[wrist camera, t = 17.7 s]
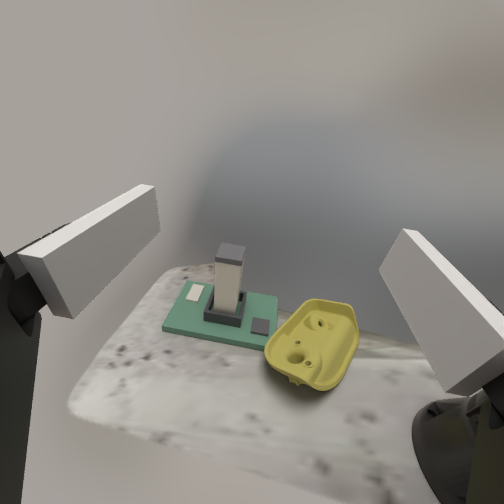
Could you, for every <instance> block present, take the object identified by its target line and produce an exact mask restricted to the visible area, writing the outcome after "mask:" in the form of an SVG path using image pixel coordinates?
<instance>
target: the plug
mask: <svg viewBox="0 0 504 504" xmlns="http://www.w3.org/2000/svg"><path fill="white" fill-rule="evenodd" d="M245 249H246V247H245V246H239V245H233V244H228V243H221V246H220V247H219V250H218V252H217V254H216V256H215V262H216V264H215V290H214V311H217V312H222V313H227V314H232V315H236V311H237V307H238V301H239V293H240V285H241V278H242V270H243V262H244V255H245Z"/></svg>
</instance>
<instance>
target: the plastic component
mask: <svg viewBox="0 0 504 504" xmlns="http://www.w3.org/2000/svg"><path fill="white" fill-rule="evenodd" d="M318 322H319V323H320V324H321V326H319V324H318ZM358 343H359V330H358V325H357V321H356V317H355V313H354V309H353V308H352V306H350V305H349V304H344V303H339V302H334V301H328V300H323V299H310V300H307V301H305V302H304V303H303V304H302V305H301V306H300V307H299V308H298V309H297V310H296V311H295V312H294V313H293V314H292V315H291V316H290V317H289V319H288V320H287V321H286V322H285V323H284V324H283V325H282V326H281V327H280V328H279V329H278V330H277V331H276V332H275V333H274V334H273V335H272V336H271V338H270V339H269V340H268V342H267V343H266V345H265V349H264V354H265V357H266V360H267V361H268V363H269V364H270V366H271V367H272V368H274V369H275V370H277V371H278V372H280V373H282V374H284V375H286V376H288V377H289V382H293V383H295V384H296V385H297V386H299V384H307V385H308V386H310V387H312V388H314V389H316V390H320V391H326V390H329V389H332V388H333V387H335V386H336V385H337V384H338V383H339V382H340V381H341V379H342V378H343V376H344V375H345V373H346V370H347V368H348V366H349V364H350V362H351V360H352V358H353V355H354V353H355V351H356V349H357V347H358ZM308 365H310V366H308Z"/></svg>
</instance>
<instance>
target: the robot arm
mask: <svg viewBox="0 0 504 504" xmlns="http://www.w3.org/2000/svg"><path fill="white" fill-rule="evenodd" d="M159 232H160V223H159V216H158V208H157V200H156V192H155V187H154V186H149V185H143V184H140V185H138V186H137V187H135V188H133V189H131V190H130V191H128V192H126V193H125V194H122V195H121V196H119V197H117V198H115V199H113V200H112V201H110V202H108V203H106V204H104V205H103V206H101V207H99V208H97V209H96V210H94V211H92V212H90V213H88V214H87V215H85V216H83V217H81V218H79V219H78V220H76V221H74V222H72V223H68V224H65V225H63V226H61V227H59V228H58V229H55V230H54V231H52V233H48V234H46V235H44V236H43V237H42V238H39V239H37V240H35V241H33V242H32V243H30V244H28V245H26V246H24V247H22V248H21V249H19V250H17V251H15V252H13V253H12V254H10V255H8V256H6V257H4V256H3V255H2V253H1V252H0V504H21V498H22V489H23V480H24V471H25V462H26V453H27V444H28V435H29V426H30V417H31V409H32V400H33V391H34V381H35V372H36V364H37V355H38V346H39V338H40V329H41V320H42V318H41V314H40V313H39V310H40V309H41V308H42V307H44V306H45V305H46V304H47V305H48V307H49V309H50V310H51V312H52V313H53V315H55V316H60V317H66V318H70V319H74V318H75V317H76V316H77V315H78V314H79V313H80V312H81V311H82V310H83V309H84V308H85V307H86V306H87V305H88V304H89V303H90V302H91V301H92V300H93V299H94V298H95V297H96V296H97V295H98V294H99V293H100V292H101V291H102V290H103V289H104V288H105V287H106V286H107V285H108V284H109V283H110V282H111V281H112V280H113V279H114V278H115V277H116V276H117V275H118V274H119V273H120V272H121V271H122V269H124V267H126V266H127V265H128V264H129V262H131V261H132V260H133V258H135V257H136V255H137V254H138V253H139V252H140V251H141V250H142V249H143V248H144V247H145V246H146V245H147V244H148V243H149V242H150V241H151V240H152V239H153V238H154V237H155V236H156V235H157V234H158V233H159ZM379 272H380V274H381V275H382V277H383V279H384V281H385V283H386V284H387V286H388V288H389V290H390V292H391V294H392V296H393V297H394V299H395V301H396V303H397V305H398V306H399V309H400V310H401V312H402V314H403V316H404V318H405V319H406V321H407V323H408V325H409V327H410V329H411V330H412V332H413V334H414V336H415V338H416V340H417V342H418V343H419V345H420V347H421V349H422V351H423V353H424V354H425V356H426V358H427V360H428V362H429V364H430V365H431V367H432V369H433V371H434V373H435V375H436V376H437V378H438V380H439V382H440V384H441V386H442V387H443V389H444V391H445V392H446V393H452V394H457V395H462V396H467V397H464V398H454V399H443V400H437V401H434V402H431V403H429V404H428V405H427V406H425V407H424V408H422V409H421V410H420V411H419V412H418V413H417V414H416V416H415V418H414V422H413V427H412V436H413V443H414V448H415V451H416V455H417V458H418V461H419V463H420V466H421V468H422V470H423V472H424V474H425V476H426V478H427V480H428V482H429V484H430V486H431V487H432V489H433V491H434V492H435V494H436V496H437V497H438V499H439V500H440V501H441V503H442V504H504V314H502V312H501V311H500V310H499V309H498V308H497V307H496V306H495V305H494V304H493V303H492V302H491V301H490V300H488V299H487V298H485V297H484V296H483V295H482V294H481V293H480V292H479V291H478V290H477V289H476V288H475V287H474V286H473V285H472V284H471V283H470V282H469V281H468V280H467V279H466V278H464V276H463V275H462V274H461V273H460V272H459V271H458V270H457V269H455V268H454V267H453V265H451V264H450V263H449V262H448V261H447V260H446V259H445V258H444V257H443V256H442V255H441V254H440V253H439V252H438V251H437V250H436V249H435V248H434V247H433V246H432V245H431V244H430V243H429V242H428V241H427V240H426V239H425V238H424V237H423V236H422V235H421V234H420V233H419V232H418V231H413V230H407V229H402V230H401V232H400V234H399V236H398V237H397V239H396V241H395V243H394V244H393V246H392V248H391V249H390V251H389V253H388V255H387V256H386V258H385V260H384V261H383V263H382V265H381V267H380V268H379ZM481 388H483V390H482V391H480V392H479V393H477V394H475V395H474V396H472V397H469V396H470V395H472V394H473V393H475V392H476V391H478V390H480V389H481Z"/></svg>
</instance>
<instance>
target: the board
mask: <svg viewBox="0 0 504 504" xmlns="http://www.w3.org/2000/svg"><path fill="white" fill-rule="evenodd" d="M214 290H215V285H210V284H204V283H199V282H194V281H188V280H187V282H186V284H185V286H184V287H183V289H182V291H181V293H180V294H179V296H178V298H177V300H176V302H175V303H174V305H173V307H172V309H171V310H170V312H169V314H168V316H167V318H166V319H165V321H164V323H163V325H162V330H163V331H165V332H170V333H175V334H180V335H185V336H190V337H195V338H200V339H206V340H211V341H216V342H221V343H226V344H231V345H236V346H241V347H246V348H252V349H257V350H262V351H264V349H265V345H266V343H267V342H268V340H269V339H270V338H271V336H272V335H273V334H274V333H275V332H276V327H277V307H278V306H277V305H278V297H274V296H269V295H263V294H258V293H253V292H247V291H242V290H240V293H239V301H238V307H237V311H236V315H232V314H227V313H222V312H217V311H214Z"/></svg>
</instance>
